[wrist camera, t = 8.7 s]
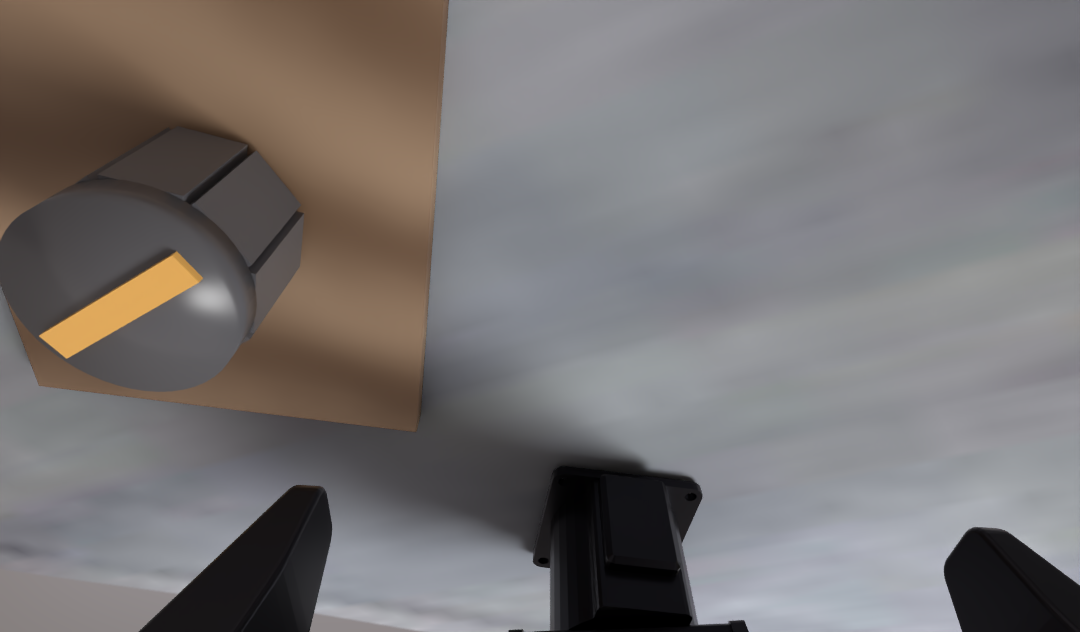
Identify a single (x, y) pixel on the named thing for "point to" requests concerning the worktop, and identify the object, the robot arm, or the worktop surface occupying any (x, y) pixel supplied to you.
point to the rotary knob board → (287, 147)
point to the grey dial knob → (155, 261)
